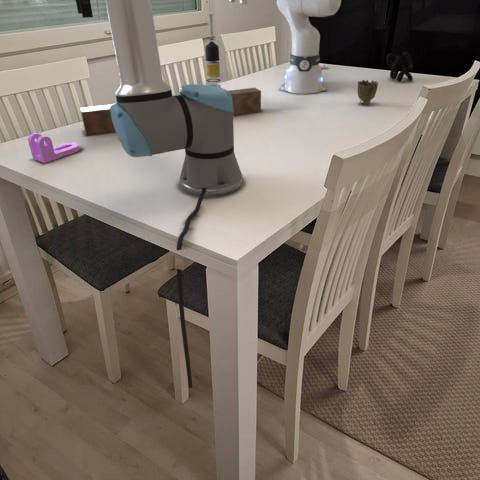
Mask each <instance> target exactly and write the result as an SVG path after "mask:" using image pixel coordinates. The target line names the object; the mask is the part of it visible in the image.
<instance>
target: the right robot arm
mask: <svg viewBox="0 0 480 480" xmlns="http://www.w3.org/2000/svg"><path fill="white" fill-rule="evenodd" d="M228 1H229V3H236V1H237V0H228ZM239 3H240V5H247V4H248V0H239ZM341 3H342V0H276V6H277V9H278V11H279V12H280V13H281V14H282V15H283V16H284V18H285V19H286V21H287V23H288V26H289V29H290V34H291V53H290V56H289V66H288V67H287V68H286V69H285V75H284V79H285V82H284V84H283V85H282V86H280V90H281V91H286V92H288V93H292V94H299V95H300V94H301V95H307V94H308V95H309V94H315V93H319V92H324V91H325V92H326V90H327V88H326V86H325V85H324V84H323V69H322V67H319V64H320V60H321V54H320V41H321V33H320V32H319V30H318V29H317V28H316V27H315V26H313V25H312V24H311V21H310V19H309V17H312V18H313V17H314V18H325V17H330V16H334V15H335V14H336V13H337V12H338V11H339V9H340V7H341V5H342V4H341Z"/></svg>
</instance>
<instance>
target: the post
mask: <svg viewBox="0 0 480 480" xmlns="http://www.w3.org/2000/svg"><path fill="white" fill-rule="evenodd" d="M228 91H229V92H230V94H231V96H232V102H233V110H234V112H233V117H234V116H240V115H248V114H249V115H250V114H254V113H255V114H256V113H261V112H262V90H260V89H259V88H256V87H248V88H240V89H238V88H237V89H230V90H228ZM112 104H113V103H112ZM112 104H111V103H110V104H104V105H103V104H102V105H94V106H86V107H79V111H80V116H81V120H82V124H83V129H84V130H83V131H84V134H85V136H94V135H102V134H110V133H116V131H115V128H114V125H113V122H112V118H111V112H110V106H111V105H112Z"/></svg>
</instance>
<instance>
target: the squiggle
mask: <svg viewBox="0 0 480 480" xmlns="http://www.w3.org/2000/svg"><path fill="white" fill-rule="evenodd" d="M401 57H402V59H401ZM391 59H392V60H391ZM393 60H394V61H393ZM385 61H386V64H387V67H390V68H391V70H390V72H389V78H390V79H391V80H395V79H396V81H397V82H399V83H400V82H402V81H403V79H404V76H406V78H407V80H408V81H412V80H413V79H414V77H413V75H412V74H411V73H410V72H409V71H410V70H412V69H413V68H414V64H413V61H412V57H411V54H410V53H409V52H408V51H403V53H402V54H401V55H396V54H394V53H392V52H390V53H387V55H386V57H385ZM406 62H407V65H408V66H407V67H405V66H404V65H405V64H406ZM400 70H401V71H400Z"/></svg>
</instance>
